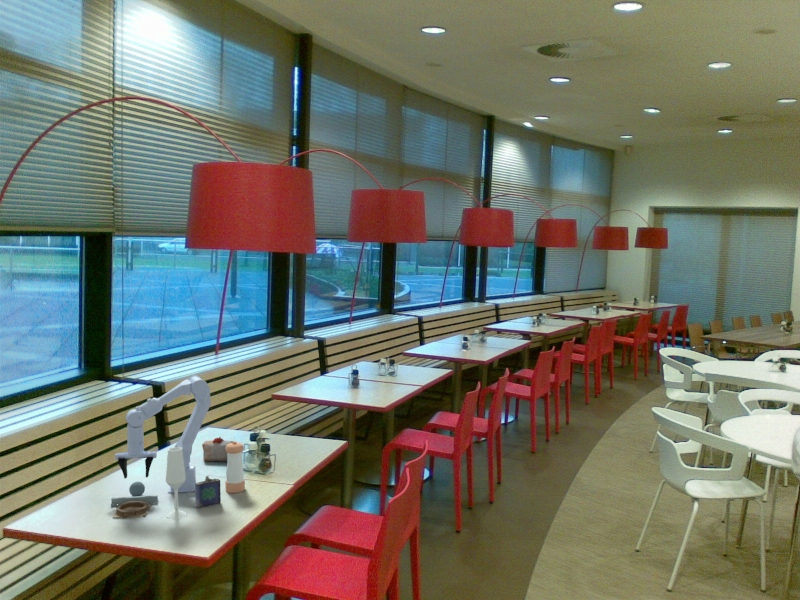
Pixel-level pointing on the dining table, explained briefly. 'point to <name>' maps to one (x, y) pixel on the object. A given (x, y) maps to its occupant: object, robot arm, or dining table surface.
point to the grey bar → (134, 499)
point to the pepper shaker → (234, 468)
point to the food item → (215, 450)
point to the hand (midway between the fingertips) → (136, 477)
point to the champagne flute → (175, 477)
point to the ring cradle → (132, 509)
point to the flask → (207, 493)
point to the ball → (137, 489)
